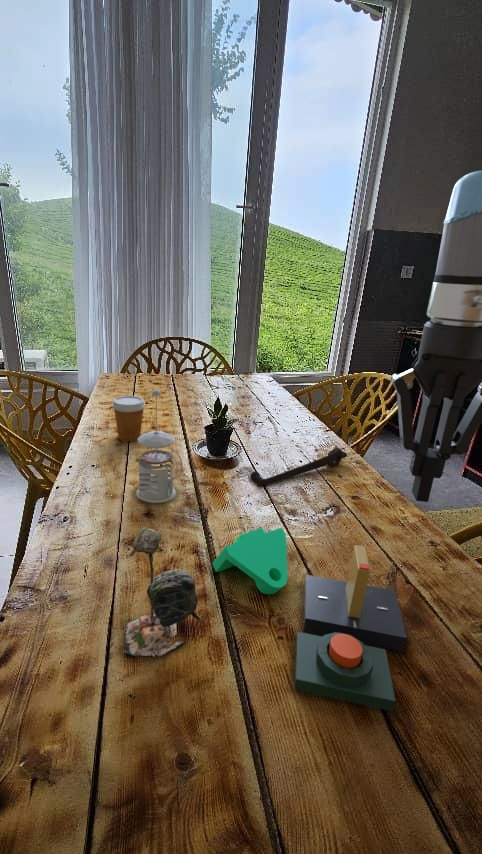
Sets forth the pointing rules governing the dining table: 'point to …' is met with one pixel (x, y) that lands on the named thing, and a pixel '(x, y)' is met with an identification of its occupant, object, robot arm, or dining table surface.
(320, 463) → the wrench
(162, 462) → the french press
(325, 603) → the black flat block
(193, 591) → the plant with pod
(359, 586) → the olive tan box
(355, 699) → the box
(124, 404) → the disposable coffee cup
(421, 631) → the dining table surface
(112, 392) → the dining table surface
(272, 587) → the camera mount
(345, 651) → the release button
